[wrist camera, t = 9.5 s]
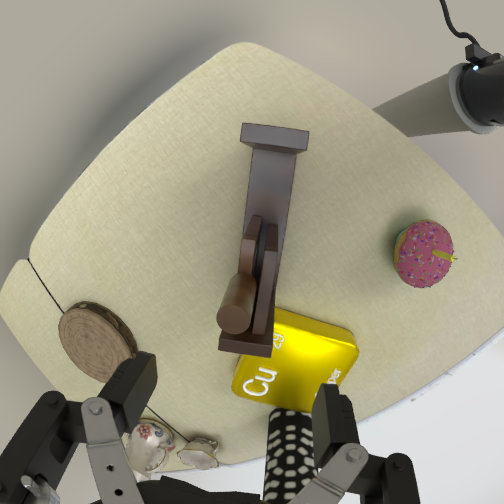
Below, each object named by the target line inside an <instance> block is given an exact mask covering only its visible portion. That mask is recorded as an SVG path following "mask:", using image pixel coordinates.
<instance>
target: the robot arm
mask: <svg viewBox="0 0 504 504" xmlns="http://www.w3.org/2000/svg"><path fill="white" fill-rule="evenodd" d="M440 3H441V5H442V9H443V12H444V17H445V20H446V23H447V26H448V27H449V29H450V30H451V32H452V33H453V34H454V35H455V36H457V37H458V38H468V39H469V40H470V41H471V42H472V44H470V45H468V46H466V47H465V51H466V60H468V61H470V62H471V63H469V64H466V65H464V66H463V71H462V72H460V73H459V75H458V76H457V79H456V95H457V99H458V101H459V104H460V106H461V108H462V110H463V112H464V113H465V114H466V116H467V117H468V118H469V119H470V120H471V121H472V122H474V123H475V124H477V125H479V126H492V125H497V126H504V56H502V55H501V54H499V53H494V54H491V53H489V52H487V51H486V50H484V49H483V48H481V47H480V45H479V44H478V42H477V41H476V39H475V38H474V37H473V36H471V35H470V34H468V33H465V32H462V33H459V32H457V31H456V29H455V28H454V27H453V25H452V23H451V20H450V17H449V12H448V9H447V5H446V3H445V0H440ZM157 378H158V376H157V366H156V356H155V355H154V354H151V353H147V352H144V351H139V352H138V354H137V355H136V357H135V358H134V359H131V358H128V359H126V360H124V361H123V362H121V363H120V365H119V366H118V367H117V369H116V371H115V372H114V373H113V374H112V377H110V379H109V380H108V382H107V383H106V384H105V386H104V387H103V389H102V390H101V392H100V393H99V394H98V396H97V397H91V398H88V399H87V400H85V401H84V402H74V401H67V400H66V399H65V397H64V395H63V394H62V393H60V392H58V391H48V392H46V393H44V394H43V395H42V396H41V397H40V399H39V400H38V402H37V403H36V404H35V406H34V407H33V408H32V410H31V411H30V413H29V414H28V416H27V417H26V419H25V420H24V421H23V423H22V424H21V426H20V427H19V428H18V430H17V431H16V433H15V434H14V436H13V437H12V439H11V440H10V442H9V443H8V445H7V447H6V448H5V449H4V451H3V453H2V454H1V456H0V504H60V498H59V496H58V494H57V493H56V488H57V486H58V484H59V482H60V480H61V478H62V476H63V474H64V472H65V470H66V468H67V466H68V464H69V462H70V460H71V458H72V456H73V454H74V452H75V450H76V448H77V446H78V444H79V443H87V445H86V447H87V452H88V456H89V460H90V464H91V468H92V471H93V475H94V478H95V482H96V485H97V488H98V491H99V494H100V497H101V499H100V500H98V501H95V502H93V503H91V504H270V503H268V502H265V501H263V500H260V494H252V493H244V492H237V491H235V492H234V491H233V492H208V491H205V490H202V489H200V488H198V487H196V486H194V485H192V484H189V483H187V482H185V481H181V480H177V479H173V478H170V477H167V476H163V475H162V476H161V479H160V480H147V481H142V482H138V481H137V479H136V476H135V474H134V472H133V469H132V467H131V464H130V461H129V459H128V456H127V453H126V450H125V448H124V445H123V442H122V439H121V437H122V435H123V433H124V432H126V433H128V434H132V432H133V430H134V428H135V426H136V424H137V422H138V421H139V419H140V417H141V415H142V413H143V411H144V409H145V407H146V405H147V403H148V401H149V399H150V397H151V395H152V393H153V391H154V389H155V387H156V384H157ZM311 418H312V433H313V451H314V468H321V469H322V470H321V471H320V472H319V473H318V474H317V475H316V476H315V477H314V478H313V479H312V480H311V481H310V482H309V483H308V484H307V485H306V486H305V487H304V488H303V489H302V490H301V491H300V492H299V493H298V494H297V495H296V496H295V497H294V498H293V499H292V500H291V501H290V502H289V503H288V504H338V502H339V501H340V500H341V499H342V497H343V496H344V493H345V492H350V493H355V494H359V495H360V504H420V498H419V493H418V487H417V482H416V478H415V473H414V468H413V464H412V461H411V459H410V458H409V457H408V456H407V455H405V454H402V453H394V454H391V455H390V456H389V457H387V458H384V457H379V456H374V455H371V454H369V453H368V452H367V450H366V449H365V448H364V447H363V446H361V445H360V442H359V436H358V431H357V426H356V421H355V419H354V418H355V416H354V412H353V407H352V403H351V401H350V400H349V398H348V397H347V396H346V395H339V389H338V385H337V384H328V383H321V385H320V387H319V390H318V392H317V395H316V397H315V400H314V402H313V405H312V411H311Z"/></svg>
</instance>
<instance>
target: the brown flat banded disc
mask: <svg viewBox="0 0 504 504" xmlns="http://www.w3.org/2000/svg"><path fill="white" fill-rule="evenodd" d="M58 330H59V337H60V340H61V343H62V346H63V348H64V350H65V351H66V353H67V355H68V356H69V358H70V359H71V360H72V361H73V362H74V363H75V365H76V366H77V367H78V368H79V369H81V370H82V371H83V372H84V373H86V374H87V375H88V376H90V377H92V378H94V379H96V380H98V381H100V382H103V383H107V382H108V380H109V379H110V377H112V374H113V373H114V372H115V371H116V369H117V367H118V366H119V365H120V363H121V362H123V361H124V360H126V359H128V358H131V359H134V358H135V357H136V355H137V354H138V348H137V344H136V341H135V339H134V337H133V335H132V334H131V332H130V330H129V328H128V327H127V326H126V325H125V324H124V323H123V322H122V320H121V319H120V318H119V317H118V316H116V315H115V314H114V313H113V312H111V311H110V310H109V309H107V308H105V307H103V306H101V305H99V304H97V303H92V302H85V301H84V302H80V303H77V304H75V305H74V306H72V307H71V308H70V309H69V310H68V311H66V312H65V313H64V314H63V316H62V317H61V318H60V321H59V325H58Z"/></svg>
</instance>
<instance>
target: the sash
mask: <svg viewBox="0 0 504 504" xmlns="http://www.w3.org/2000/svg"><path fill="white" fill-rule="evenodd" d="M261 224H262V217H258V216H252V218H251V220H250V222H249V224H248V226H247V228H246V231H245V233H244V235H243V237H242V241H241V249H240V258H239V266H238V274H236V275H234V276H233V277H232V278H231V280H230V282H229V285H228V287H227V290H226V292H225V295H224V298H223V300H222V303H221V305H220V308H219V310H218V313H217V317H216V319H217V323H218V325H219V327H220V328H221V329H222V330H224V331H225V332H227V333H230V334H240V333H242V332H244V331H246V330H247V329H248V327H249V325H250V322H251V316H252V311H253V305H254V299H255V294H256V288H257V284H256V281H255V279H254V275H255V268H256V260H257V253H258V246H259V239H260V231H261Z"/></svg>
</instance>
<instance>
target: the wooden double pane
mask: <svg viewBox="0 0 504 504" xmlns="http://www.w3.org/2000/svg"><path fill="white" fill-rule="evenodd" d="M308 139H309V131H303V130H297V129H291V128H284V127H277V126H269V125H261V124H252V123H242V128H241V135H240V142H242V143H244V144H246V145H248V146H250V147H252V148H253V154H252V162H251V170H250V178H249V186H248V194H247V202H246V210H245V218H244V227H243V235H244V233H245V231H246V228H247V226H248V224H249V222H250V220H251V218H252V216H258V217H262V224H261V231H260V239H259V246H258V253H257V260H256V268H255V275H254V279H255V281H256V284H257V288H256V294H255V299H254V305H253V311H252V316H251V322H250V325H249V327H248V329H247V330H246V331H244V332H242V333H240V334H230V333H227V332H225V331H224V330H222V331H221V334H220V337H219V346H218V350H220V351H226V352H232V353H238V354H244V355H251V356H258V357H265V358H271V354H272V349H273V337H274V313H275V290H276V284H277V278H278V272H279V266H280V260H281V254H282V248H283V242H284V236H285V229H286V223H287V217H288V210H289V204H290V197H291V190H292V183H293V176H294V169H295V162H296V155H297V154H299V153H301V152H304V151H307V146H308ZM243 235H242V237H243Z"/></svg>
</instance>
